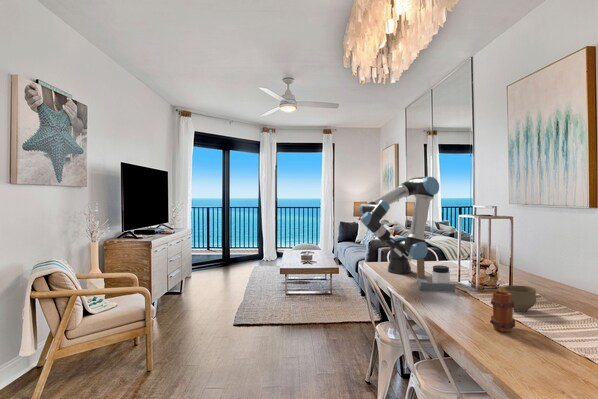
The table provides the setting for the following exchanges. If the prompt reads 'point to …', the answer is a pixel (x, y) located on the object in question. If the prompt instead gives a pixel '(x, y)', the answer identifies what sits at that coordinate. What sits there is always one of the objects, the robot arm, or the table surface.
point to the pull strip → (430, 286)
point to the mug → (502, 310)
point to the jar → (440, 274)
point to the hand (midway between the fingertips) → (406, 257)
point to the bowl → (522, 296)
